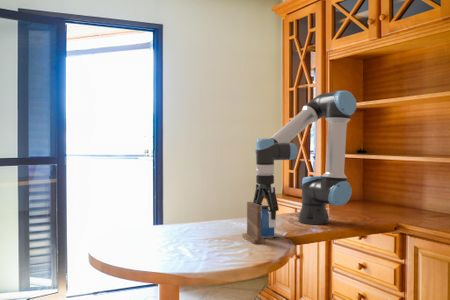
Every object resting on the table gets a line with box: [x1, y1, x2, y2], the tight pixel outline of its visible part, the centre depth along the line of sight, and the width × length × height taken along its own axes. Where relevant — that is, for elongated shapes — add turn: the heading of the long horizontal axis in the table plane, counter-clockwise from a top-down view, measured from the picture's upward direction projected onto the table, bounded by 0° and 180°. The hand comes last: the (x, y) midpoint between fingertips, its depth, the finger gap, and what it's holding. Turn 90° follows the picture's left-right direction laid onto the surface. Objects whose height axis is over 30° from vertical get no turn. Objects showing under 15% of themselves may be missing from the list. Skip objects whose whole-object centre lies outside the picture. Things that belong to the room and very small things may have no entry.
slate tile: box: [261, 232, 280, 239], centre depth 169 cm, size 9×9×1 cm
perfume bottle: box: [261, 204, 275, 236], centre depth 169 cm, size 6×6×12 cm
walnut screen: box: [241, 201, 267, 245], centre depth 161 cm, size 5×12×15 cm, turn 20°
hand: (265, 223), depth 169 cm, fingers open, 13 cm apart
